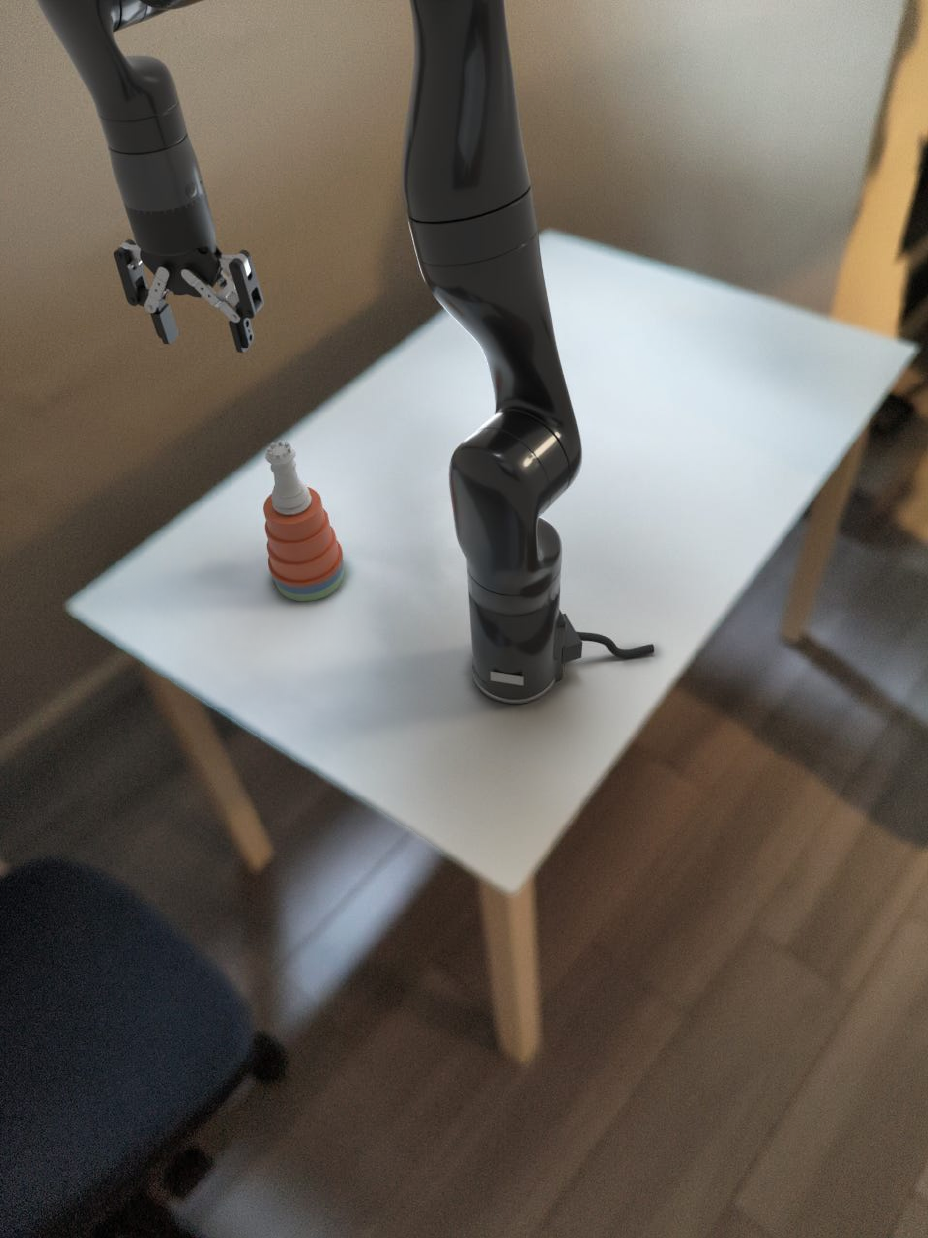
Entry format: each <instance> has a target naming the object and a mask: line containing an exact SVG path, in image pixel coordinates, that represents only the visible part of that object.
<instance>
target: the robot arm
mask: <svg viewBox="0 0 928 1238" xmlns="http://www.w3.org/2000/svg"><path fill="white" fill-rule="evenodd" d="M204 1H205V0H36V2H37V4H38V7H39V9H40V11H41V12H42V14H43V16H44V18H45V19H46V22H47V23H48V25H49V26H50V28H51V29H52V31H53V33H54V34H55V36H56V38H57V39H58V40H59V42H60V44H61V46H62V48H63V49H64V51H65V53H66V54H67V55H68V57H69V59H70V61H71V63H72V65H73V66H74V68H75V70H76V71H77V73H78V76H80V78H81V80H82V82H83V84H84V85H85V87H86V89H87V91H88V93H89V95H90V97H91V99H92V102H93V105H94V108H95V111H96V114H97V117H98V120H99V123H100V125H101V130H102V132H103V135H104V138H105V142H106V144H107V150H108V152H109V157H110V162H111V168H112V173H113V176H114V179H115V182H116V185H117V188H118V192H119V195H120V197H121V201H122V203H123V206H124V210H125V212H126V215H127V219H128V222H129V225H130V228H131V231H132V234H133V239H134V240H133V239H131V238H128V239H126V240H125V241H123V243H121V244H120V245H119V246H118V247H117V249H115V250H114V251H113V258H114V261H115V264H116V268H117V272H118V275H119V278H120V281H121V286H122V288H123V292H124V295H125V298H126V301H127V303H128V304H129V305H130V306H131V307H137V306H141V307H142V308H144V309H145V311H146V312H147V313H149V315H150V318H151V321H152V324H153V327H154V330H155V333H156V335H157V336H158V338H159V339H161V340H162V343H163V345H170V346H171V345H173V344H174V343H175V341H177V339H178V337H179V329H178V326H177V323H176V320H175V317H174V314H173V311H172V307H171V304H170V303H166V300H167V298H168V296H169V294H170V292H171V293H172V294H173V295H174V296H185V295H186V296H187V295H188V296H191V297H194V298H199V299H200V298H201V299H202V298H203V299H205V300H206V301H207V302H208V304H209V305H211V307H212V308H218V309H219V310H220V311H221V312H222V313H223V314H224V315H225V316H226V318H227V319H229V322H228V325H229V329H230V332H231V337H232V340H233V343H234V347H235V351H236V353H238V354H246V352H248V350H249V348H250V347H251V346H252V344H253V343H254V341H255V334H254V331H253V325H252V322H251V320H252V319H254V318H255V317H256V316H257V314H258V313H259V312H260V310H261V309H262V308H263V306H264V305H265V301H264V297H263V293H262V289H261V286H260V284H259V279H258V276H257V273H256V269H255V266H254V262H253V258H252V254H251V253H250V252H249V250H247V249H241V250H239V252H238V253H237V254H227V253H226V254H225V253H223V252H222V251H221V249H220V248H219V245H218V244H217V241H216V240H217V239H216V228H215V223H214V219H213V215H212V211H211V207H210V203H209V199H208V195H207V192H206V187H205V184H204V180H203V176H202V173H201V169H200V165H199V164H200V163H199V160H198V158H197V155H196V151H195V149H194V147H193V144H192V141H191V139H190V136H189V133H188V129H187V125H186V121H185V117H184V114H183V109H182V106H181V102H180V98H179V94H178V90H177V87H176V84H175V80H174V78H173V75H172V72H171V71H170V69H169V68H168V66H167V65H166V63H164V62H163V61H162V60H160V59H159V58H156V57H153V56H150V55H141V54H140V55H138V54H135V55H133V54H132V55H124V54H123V52H122V50H121V49H120V47H119V45H118V43H117V41H116V38H115V33H117V32H120V31H122V30H125V29H127V28H130V27H133V26H135V25H138V24H141V23H143V22H146V21H148V20H150V19H153V18H155V17H159V16H160V15H162V14H164V13H167V12H169V11H174V10H179V9H183V8H186V7H190V6H193V5H196V4H198V3H201V2H204ZM408 1H409V6H410V13H411V21H412V28H413V29H412V32H413V63H412V65H413V66H412V74H411V85H410V92H409V99H408V105H407V112H406V117H405V125H404V131H403V142H402V150H401V161H400V163H401V165H400V179H401V181H400V182H401V184H400V185H401V194H402V201H403V207H404V210H405V214H406V219H407V223H408V227H409V232H410V235H411V239H412V244H413V248H414V251H415V255H416V259H417V263H418V266H419V270H420V273H421V276H422V278H423V280H424V282H425V284H426V286H427V287H428V289H429V291H430V292H431V294H432V295H433V296H434V298H435V299H436V300H437V302H438V303H439V304H440V305H441V307H443V309H444V310H445V311H446V312H447V313H448V314H449V315H450V316H451V318H453V319H454V320H455V321H456V322H457V324H459V325H460V326H461V327H462V328H463V329H464V330H465V331H466V332H467V333H468V334H469V335H470V336H471V337H472V338H473V340H474V341H475V342H476V343H477V345H478V346H479V347H480V349H481V352H482V353H483V355H484V357H485V361H486V364H487V367H488V370H489V375H490V378H491V382H492V388H493V393H494V401H495V409H494V410H495V411H494V415H493V416H492V417H490V418H489V419H488V420H487V421H486V422H485V423H483V424H482V425H481V426H479V428H478V429H476V430H475V431H474V432H473V433H471V434H470V435H469V436H468V437H467V438H466V439H465V440H463V441H462V442H461V443H460V444H459V445H458V446H457V447H456V448H455V449H454V451H453V452H452V455H451V457H450V461H449V465H448V488H449V495H450V502H451V509H452V517H453V522H454V530H455V535H456V540H457V542H458V545H459V548H460V549H461V552H462V553H463V555H464V557H465V561H466V565H465V566H466V578H467V592H468V593H467V595H468V612H469V626H470V628H469V629H470V641H471V644H470V645H471V661H472V663H471V672H472V678H473V681H474V683H475V685H476V687H477V688H478V689H479V690H480V692H482V693H483V694H484V695H485V696H487V697H488V698H489V699H492V700H493V701H496V702H499V703H503V704H508V705H521V704H528V703H531V702H534V701H536V700H538V699H540V698H542V697H543V696H544V695H546V694H547V693H548V692H549V691H550V690H551V689H552V688H553V686H554V685H555V682H557V681H560V680H563V679H564V672H565V664H566V663H569V662H572V661H575V660H578V659H581V658H582V653H583V642H591V643H597V644H601V645H603V646H605V647H606V648H607V650H608V651H609V652H610V654H612V655H613V656H615V657H617V658H622V659H630V658H636V657H640V656H645V655H648V654H653V653H655V646H654V644H653V643H652V644H645V645H642V646H638V647H635V648H628V649H627V648H625V649H624V648H619V647H618V646H617V645H616V644H615V642H614V641H613V640H612V639H611V638H610V637H608V636H605V635H603V634H600V633H595V632H586V631H576V629H575V627H574V626H573V624H572V622H571V620H570V619H569V617H568V615H567V613H563V612H562V610H561V609H560V601H561V581H562V580H561V579H562V564H563V563H562V562H563V542H562V538H561V536H560V533H559V532H558V530H557V529H556V527H555V526H554V525H553V524H552V523H551V522H550V521H548V520H547V519H546V518H544V517H542V515H543V514H544V513H545V512H546V511H547V510H548V509H549V508H550V507H551V506H552V505H554V504H555V502H556V501H557V500H559V498H560V497H562V495H563V494H565V493H566V491H568V489H570V487H571V486H572V484H573V483H574V482H575V481H576V479H577V477H578V475H579V473H580V471H581V468H582V464H583V445H582V439H581V433H580V430H579V425H578V422H577V418H576V414H575V410H574V406H573V402H572V398H571V395H570V391H569V387H568V384H567V381H566V377H565V372H564V369H563V365H562V362H561V358H560V354H559V350H558V349H559V348H558V345H557V341H556V335H555V334H556V333H555V329H554V322H553V317H552V312H551V306H550V302H549V296H548V295H549V294H548V291H547V290H548V289H547V285H546V279H545V274H544V273H545V272H544V267H543V262H542V253H541V245H540V244H541V243H540V236H539V234H540V233H539V228H538V227H539V226H538V221H537V214H536V208H535V207H536V206H535V201H534V195H533V189H532V184H531V182H532V181H531V177H530V173H529V167H528V163H527V162H528V161H527V157H526V153H525V146H524V139H523V135H522V134H523V133H522V128H521V121H520V113H519V106H518V105H519V104H518V99H517V91H516V83H515V76H514V68H513V62H512V57H511V55H512V54H511V49H510V48H511V47H510V41H509V34H508V25H507V16H506V6H505V5H506V4H505V0H408ZM143 265H144V266H145V267H146V268H147V269H148V270H149V272H151V273H152V275H153V276H154V279H153V280H152V283H151V285H150V288H149V285H148V282H147V278H146V274H145V270H144V267H143ZM224 270H225V271H226V272H227V274H228V275H227V274H226V273H225V271H224ZM216 284H217V285H218V286H219V288H220V289H219V291H215V289H214V288H215V286H216Z"/></svg>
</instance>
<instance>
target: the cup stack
mask: <svg viewBox="0 0 928 1238" xmlns="http://www.w3.org/2000/svg"><path fill="white" fill-rule="evenodd" d="M307 487H308V489H309V492H310V495H311V497H312V498H311V503H310V505H309V506H308V507H307V509H306V510H305V511H303V512H302V513H300V514H297V515H284V514H281V513H279V512H278V511H276V510H275V509H274V507H273V505H272V503H273V501H272V499H271V496H272V493H271V494H269V495H268V496H267V497H266V499H265V500H264V502H263V506H262V511H263V515H264V519H265V522H264V532H265V535H266V538H267V541H266V551H267V554H268V557H267V566H268V571H269V573H270V575H271V576H272V579H273V581H274V583H275V585H276V587H277V590H278V591H279V592H280V593H281V594H282V595H283V596H284V597H286V598H287V599H290V600H293V601H297V602H314V601H317V600H320V599H323V598H326V597H328V596H329V595H330V594H332V593H334V592H335V591H336V590H337V589H338V588H339V587H340V585H341V584H342V582H343V580H344V577H345V571H344V553H343V548H342V545H341V543H340V542H339V541H338V539H337V535H336V531H335V530H334V528H333V527H332V525H331V523H330V519H329V515H328V513H327V511H326V509H325V508H323V502H322V497H321V496H320V494H319V492H318V491H317V490H315V489H313V488H312V487H309V486H307Z"/></svg>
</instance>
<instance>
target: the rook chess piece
mask: <svg viewBox="0 0 928 1238" xmlns="http://www.w3.org/2000/svg"><path fill="white" fill-rule="evenodd" d="M296 452H297V451H296V450H295V449H294V448H293V447H292V446H291V444H290V442H288V441H285V442H284V441H283V440H277V444H275V442H274V441H273V442H271V443H270V444H269V446H267V447H266V452H265V460H266V462H267V463H269V464H270V467H269V469H270V471H271V472H272V474H273V477H274V478H273V480H274V485H273V489H272V490H271V494H272V496H271V499H272V501H273V503H272V505H273V507H274V509H275V510H276V511H278V512H279V513H281V514H284V515H297V514H300V513H302V512H303V511H305V510H306V509H307V507H308V506H309V505H310V503H311V498H312V497H311V495H310V492H309V489H308V487H309V486H307V484H306V483H304V482H303V481H302V480H301V479H300V478H299V475H298V473H297V470H296V469H297V463H296V461H295V460H294V459H295V457H296Z"/></svg>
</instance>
